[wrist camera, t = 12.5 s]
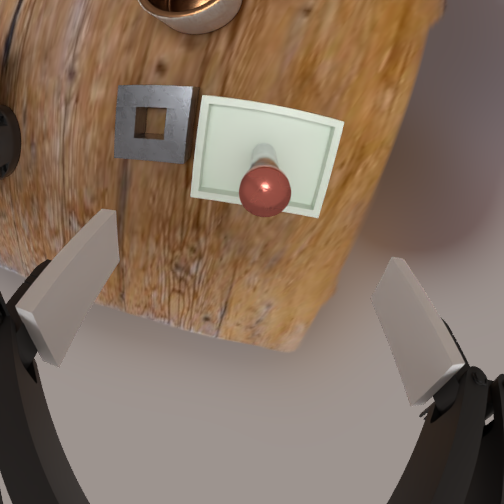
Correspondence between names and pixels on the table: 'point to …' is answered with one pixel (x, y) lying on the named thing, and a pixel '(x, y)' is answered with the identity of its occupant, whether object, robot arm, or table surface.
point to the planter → (193, 13)
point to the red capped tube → (264, 184)
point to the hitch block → (134, 122)
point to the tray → (256, 132)
